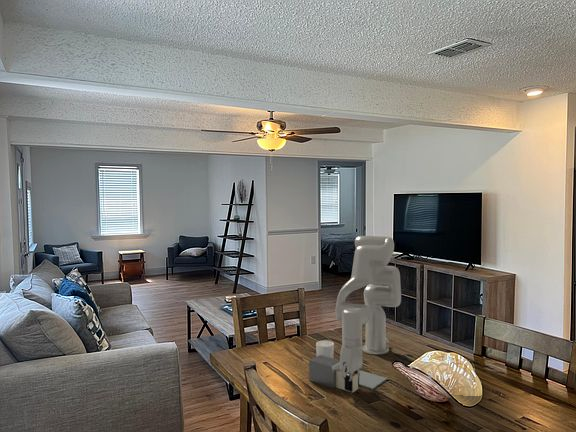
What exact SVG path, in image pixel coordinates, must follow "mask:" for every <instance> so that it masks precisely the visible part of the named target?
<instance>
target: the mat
mask: <svg viewBox="0 0 576 432" xmlns="http://www.w3.org/2000/svg"><path fill="white" fill-rule="evenodd" d="M358 377H359V387H363V388H366V389H368V390H369V389H370V390H371V391H372V390H375V389H376V388H377V387H378V386H380V385H381V384H383V383H384V382H386V381H387V380H388V377H384V376H382V375H381V376H380V375H378V374H374V373H371V372H366V371H364V370H362V369H361V370H360V376H358Z"/></svg>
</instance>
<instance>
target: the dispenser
mask: <svg viewBox="0 0 576 432" xmlns="http://www.w3.org/2000/svg"><path fill="white" fill-rule="evenodd" d="M308 365H309V366H308V367H309V368H308V371H309V372H308V380H309V382H311V383H315V384H318V385H321V386H325V387H327V388H330V389H333V390H335V389H336V388H337V387H336V371H337V370H339V369H340V359H336V358H334V357H333V358H330V357H326V356H323V355H319V356H317V355H316V356H315V357H313V358H311V359H308Z"/></svg>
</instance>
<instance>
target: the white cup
mask: <svg viewBox="0 0 576 432" xmlns="http://www.w3.org/2000/svg"><path fill="white" fill-rule="evenodd" d="M334 348H335V343H334V342H333V341H330V340H318V341H317V342H315V350H316V357H317V356H319V355H323V356H326V357H330V358H333V359H334V352H335V351H334V350H335V349H334Z"/></svg>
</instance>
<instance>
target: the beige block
mask: <svg viewBox="0 0 576 432" xmlns="http://www.w3.org/2000/svg"><path fill="white" fill-rule="evenodd" d="M341 372H342V371H340V369H339V370H337V371H336V388H337V389H339V390H343V391H346V392H348V393H354V392H356V391H357V390H359V387H358V374H357V373H352V380H351V381H353V391H348V390H345V380H344V378H343V377H342V376H341ZM347 375H348V376H349V374H347Z"/></svg>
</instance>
